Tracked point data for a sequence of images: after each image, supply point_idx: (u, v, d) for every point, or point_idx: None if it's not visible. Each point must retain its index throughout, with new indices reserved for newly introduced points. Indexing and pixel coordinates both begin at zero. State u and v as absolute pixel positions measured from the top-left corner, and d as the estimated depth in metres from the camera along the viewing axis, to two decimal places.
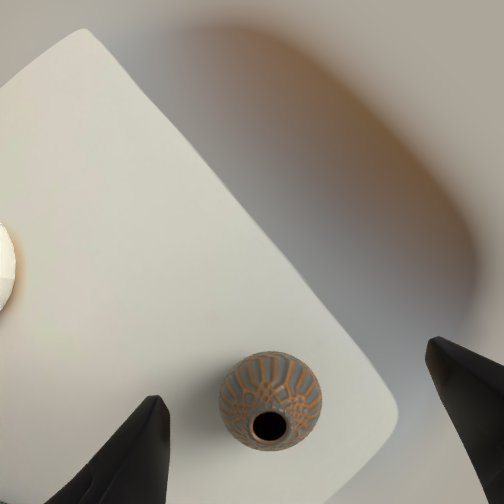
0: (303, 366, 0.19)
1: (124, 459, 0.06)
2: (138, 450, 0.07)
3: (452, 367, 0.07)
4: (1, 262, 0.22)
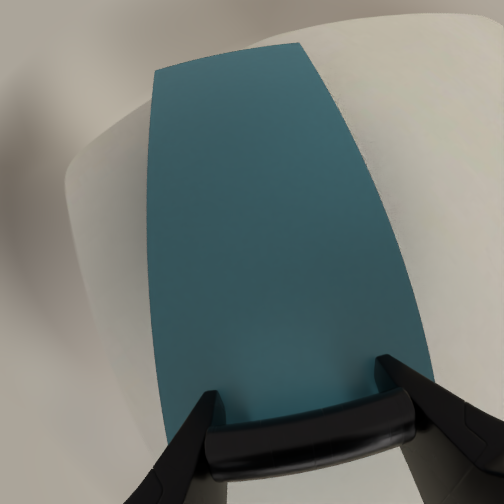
0: None
1: (195, 460, 0.06)
2: None
3: None
4: None
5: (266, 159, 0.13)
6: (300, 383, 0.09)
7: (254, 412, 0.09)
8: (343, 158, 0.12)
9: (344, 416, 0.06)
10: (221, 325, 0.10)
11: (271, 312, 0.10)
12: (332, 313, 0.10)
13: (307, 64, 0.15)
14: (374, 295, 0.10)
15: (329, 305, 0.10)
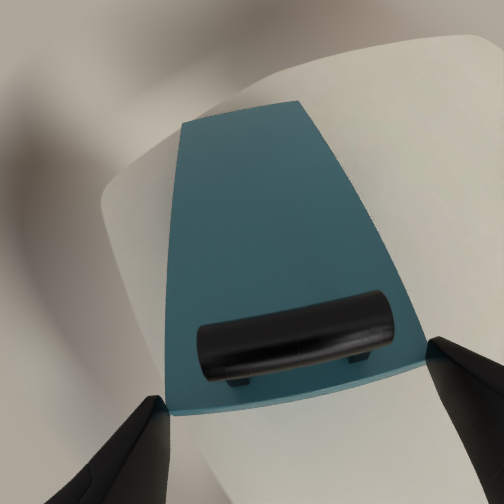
0: None
1: (124, 459, 0.06)
2: (138, 450, 0.07)
3: (452, 367, 0.07)
4: None
5: (267, 176, 0.16)
6: None
7: None
8: (328, 172, 0.16)
9: (321, 304, 0.08)
10: (225, 285, 0.12)
11: (267, 274, 0.12)
12: (319, 273, 0.12)
13: (303, 115, 0.21)
14: (355, 260, 0.12)
15: (316, 267, 0.12)
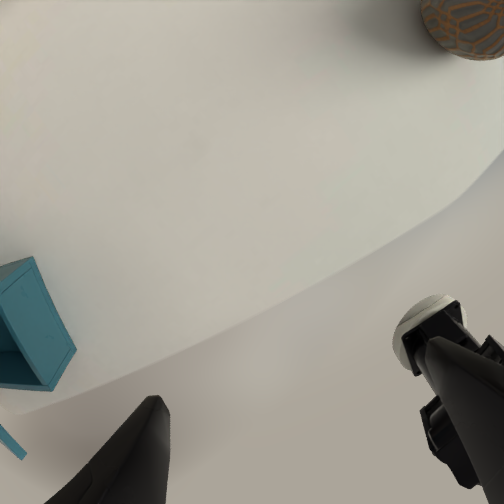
0: None
1: (124, 459, 0.06)
2: (138, 450, 0.07)
3: (452, 367, 0.07)
4: None
5: None
6: None
7: None
8: None
9: None
10: None
11: None
12: None
13: None
14: None
15: None
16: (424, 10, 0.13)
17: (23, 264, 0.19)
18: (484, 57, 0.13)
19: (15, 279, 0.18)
